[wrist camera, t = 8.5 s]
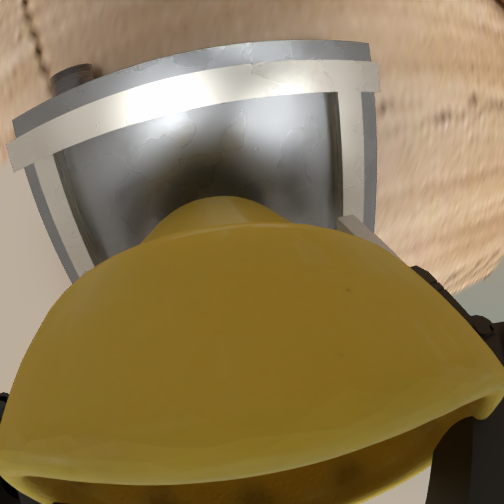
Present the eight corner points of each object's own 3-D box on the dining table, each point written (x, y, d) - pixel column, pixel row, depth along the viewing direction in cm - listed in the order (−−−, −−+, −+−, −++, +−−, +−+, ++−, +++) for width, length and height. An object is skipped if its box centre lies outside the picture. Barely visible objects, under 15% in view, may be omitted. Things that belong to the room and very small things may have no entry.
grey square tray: (43, 92, 12) (-35, 103, 5) (331, 31, 13) (407, 6, 7) (131, 330, 22) (120, 407, 16) (342, 286, 23) (384, 351, 17)
